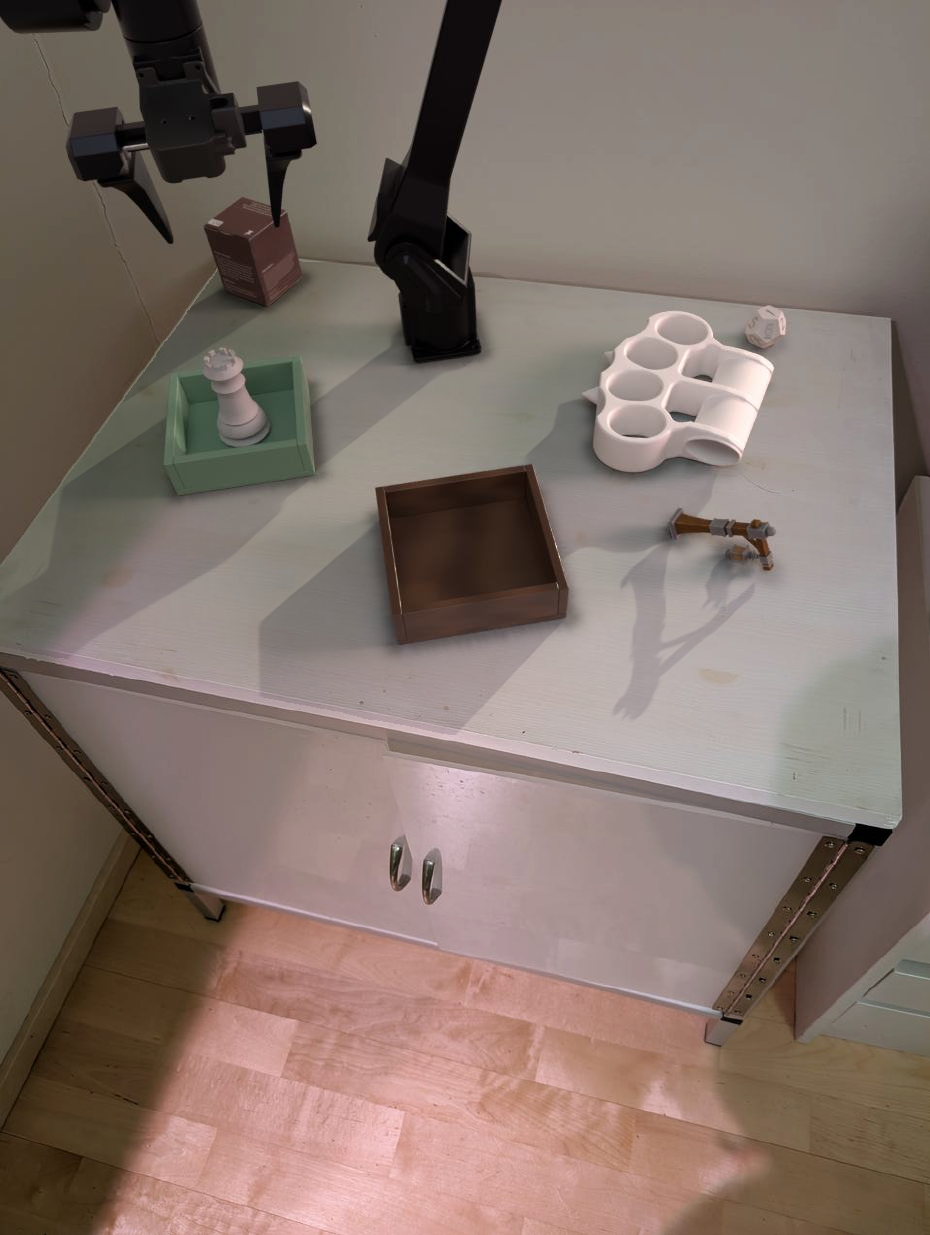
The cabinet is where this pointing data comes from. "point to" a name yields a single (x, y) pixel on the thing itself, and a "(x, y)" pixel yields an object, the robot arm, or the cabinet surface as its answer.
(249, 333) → the cabinet surface
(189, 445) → the green bin
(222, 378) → the rook chess piece
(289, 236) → the box
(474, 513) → the walnut tray
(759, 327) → the game die
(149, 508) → the cabinet surface
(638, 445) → the white brass knuckles
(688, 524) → the wooden post with brackets
